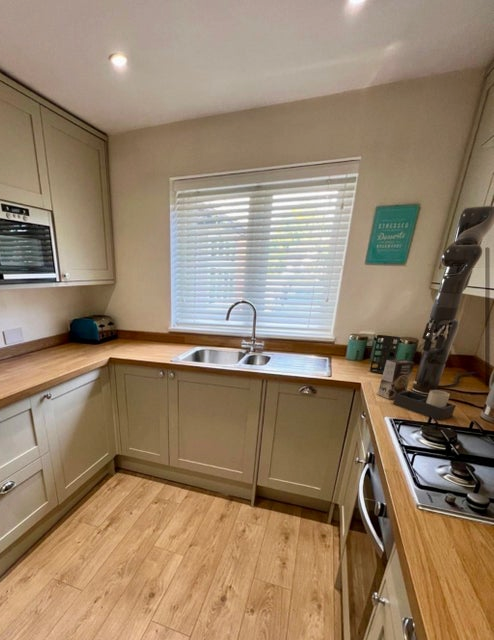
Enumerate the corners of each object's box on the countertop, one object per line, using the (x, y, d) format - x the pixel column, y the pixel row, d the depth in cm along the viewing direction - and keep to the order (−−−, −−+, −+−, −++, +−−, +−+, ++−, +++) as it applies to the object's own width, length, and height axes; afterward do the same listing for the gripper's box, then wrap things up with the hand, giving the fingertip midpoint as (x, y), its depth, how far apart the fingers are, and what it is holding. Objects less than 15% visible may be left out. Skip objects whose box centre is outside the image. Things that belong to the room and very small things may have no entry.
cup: (429, 407, 133) (435, 389, 130) (446, 413, 128) (453, 394, 125) (420, 410, 130) (426, 391, 127) (437, 416, 125) (444, 396, 122)
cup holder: (405, 400, 142) (408, 390, 140) (452, 416, 128) (455, 405, 126) (392, 404, 138) (395, 393, 136) (439, 420, 124) (443, 409, 122)
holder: (370, 372, 179) (379, 335, 174) (367, 370, 186) (375, 334, 181) (393, 375, 176) (402, 337, 171) (389, 372, 183) (398, 336, 178)
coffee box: (388, 399, 143) (398, 363, 137) (376, 394, 148) (385, 359, 142) (405, 397, 145) (415, 362, 139) (393, 392, 151) (402, 358, 145)
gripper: (447, 307, 113) (432, 354, 119) (467, 306, 119) (453, 350, 125) (423, 305, 119) (411, 349, 125) (444, 303, 125) (431, 346, 131)
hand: (432, 349), depth 125 cm, fingers open, 8 cm apart
